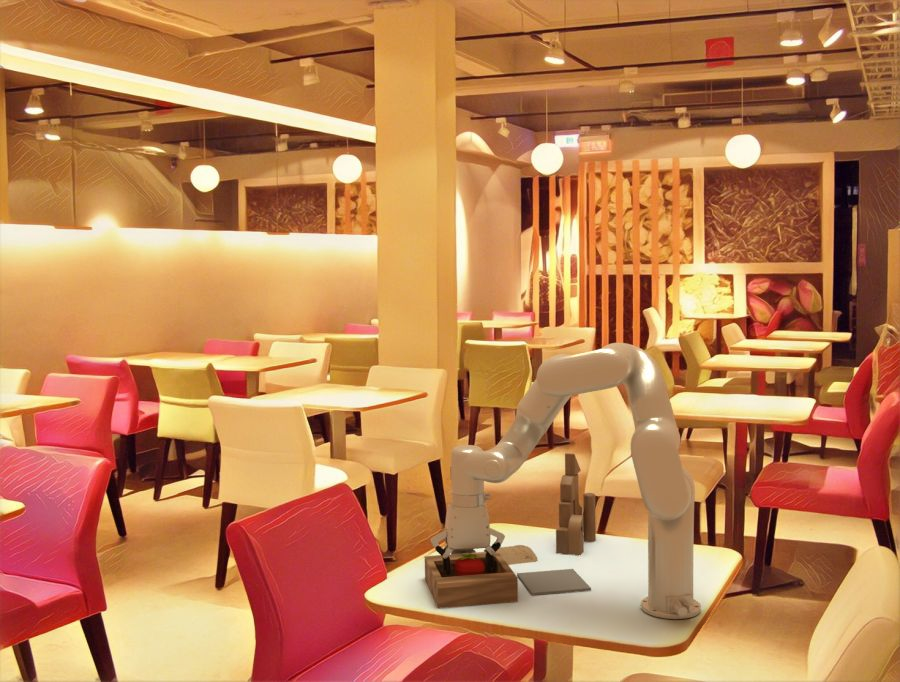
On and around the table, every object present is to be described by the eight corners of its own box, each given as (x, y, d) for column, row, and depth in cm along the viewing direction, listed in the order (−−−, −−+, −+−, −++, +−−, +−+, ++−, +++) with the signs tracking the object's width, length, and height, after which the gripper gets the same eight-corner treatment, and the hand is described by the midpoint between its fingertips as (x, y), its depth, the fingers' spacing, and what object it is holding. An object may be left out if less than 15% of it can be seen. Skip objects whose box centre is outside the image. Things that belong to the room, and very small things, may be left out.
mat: (591, 590, 220) (591, 588, 220) (531, 595, 218) (531, 592, 218) (572, 571, 234) (572, 568, 234) (517, 575, 231) (517, 573, 231)
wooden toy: (581, 556, 245) (580, 460, 243) (555, 553, 248) (554, 458, 246) (597, 539, 259) (596, 448, 257) (573, 537, 262) (572, 446, 260)
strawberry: (480, 596, 218) (479, 553, 217) (449, 591, 221) (448, 549, 220) (489, 587, 224) (488, 545, 223) (459, 583, 227) (459, 542, 226)
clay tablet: (482, 553, 252) (482, 542, 251) (517, 548, 255) (517, 538, 255) (503, 569, 238) (503, 558, 238) (540, 564, 241) (540, 554, 241)
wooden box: (517, 601, 214) (517, 577, 214) (438, 608, 211) (437, 583, 211) (498, 572, 234) (497, 550, 233) (425, 578, 231) (424, 556, 230)
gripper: (500, 493, 226) (500, 564, 227) (427, 497, 223) (428, 569, 224) (508, 501, 218) (508, 574, 220) (432, 505, 215) (433, 579, 217)
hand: (468, 571), depth 222 cm, fingers open, 9 cm apart
